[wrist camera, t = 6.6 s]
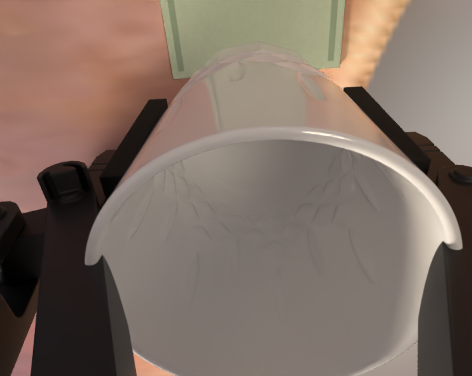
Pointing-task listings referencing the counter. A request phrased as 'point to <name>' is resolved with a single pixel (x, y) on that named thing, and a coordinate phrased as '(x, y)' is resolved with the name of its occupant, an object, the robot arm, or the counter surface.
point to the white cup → (270, 227)
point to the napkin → (251, 29)
